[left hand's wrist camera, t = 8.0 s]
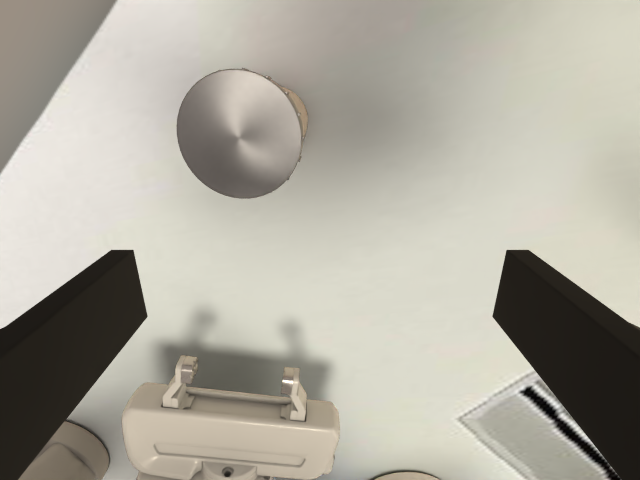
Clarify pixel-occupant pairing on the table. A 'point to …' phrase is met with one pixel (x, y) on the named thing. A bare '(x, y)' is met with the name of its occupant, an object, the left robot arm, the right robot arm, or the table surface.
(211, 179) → the lid
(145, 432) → the right robot arm
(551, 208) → the table surface
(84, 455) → the bust sculpture
